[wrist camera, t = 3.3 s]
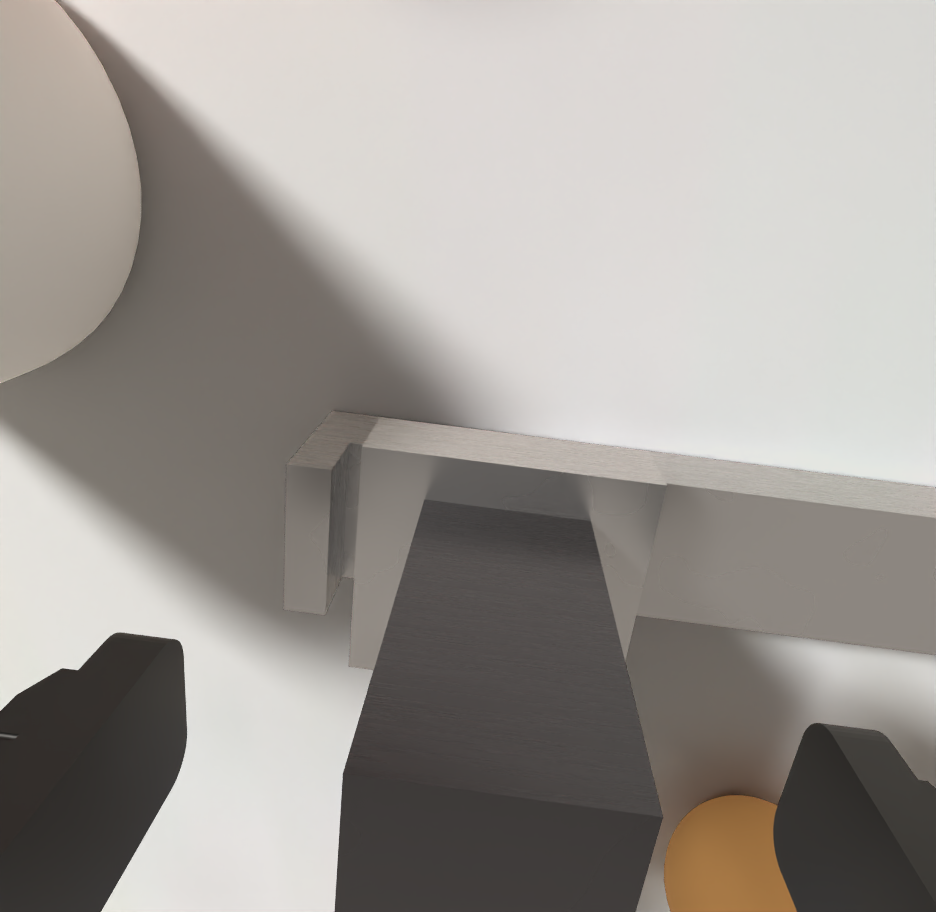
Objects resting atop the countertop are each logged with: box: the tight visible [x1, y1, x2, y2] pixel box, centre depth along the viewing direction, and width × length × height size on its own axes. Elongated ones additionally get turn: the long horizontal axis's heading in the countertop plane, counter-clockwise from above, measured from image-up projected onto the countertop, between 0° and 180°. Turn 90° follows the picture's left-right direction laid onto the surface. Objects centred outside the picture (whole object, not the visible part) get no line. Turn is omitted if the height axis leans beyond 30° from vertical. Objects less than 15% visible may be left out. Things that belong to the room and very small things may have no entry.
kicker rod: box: [335, 417, 667, 912], centre depth 12 cm, size 12×5×9 cm, turn 173°
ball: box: [664, 795, 797, 912], centre depth 16 cm, size 4×4×4 cm
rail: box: [284, 411, 936, 655], centre depth 14 cm, size 3×19×3 cm, turn 83°
